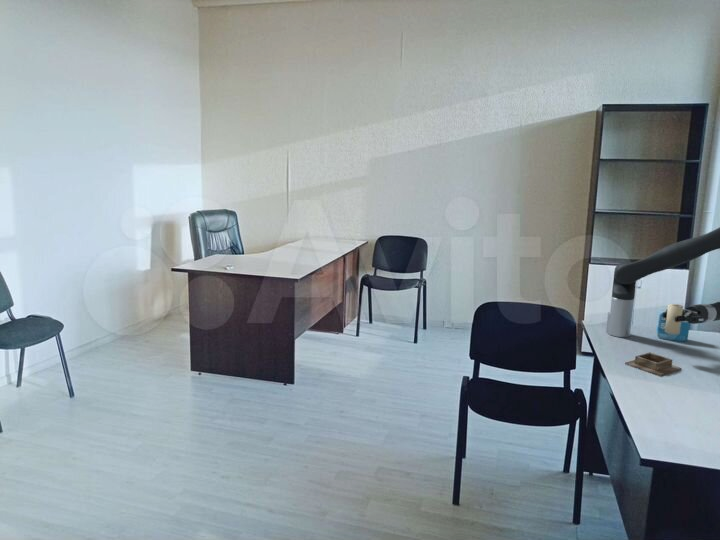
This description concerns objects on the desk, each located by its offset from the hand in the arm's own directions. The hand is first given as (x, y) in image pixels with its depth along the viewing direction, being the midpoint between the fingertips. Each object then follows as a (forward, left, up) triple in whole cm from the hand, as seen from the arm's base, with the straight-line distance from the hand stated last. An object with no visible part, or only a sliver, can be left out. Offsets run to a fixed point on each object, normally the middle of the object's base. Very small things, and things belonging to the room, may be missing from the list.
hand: (669, 317), depth 220 cm
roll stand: (+2, -11, -18) cm, 21 cm away
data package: (-14, +30, -18) cm, 38 cm away
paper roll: (0, +3, -7) cm, 7 cm away
